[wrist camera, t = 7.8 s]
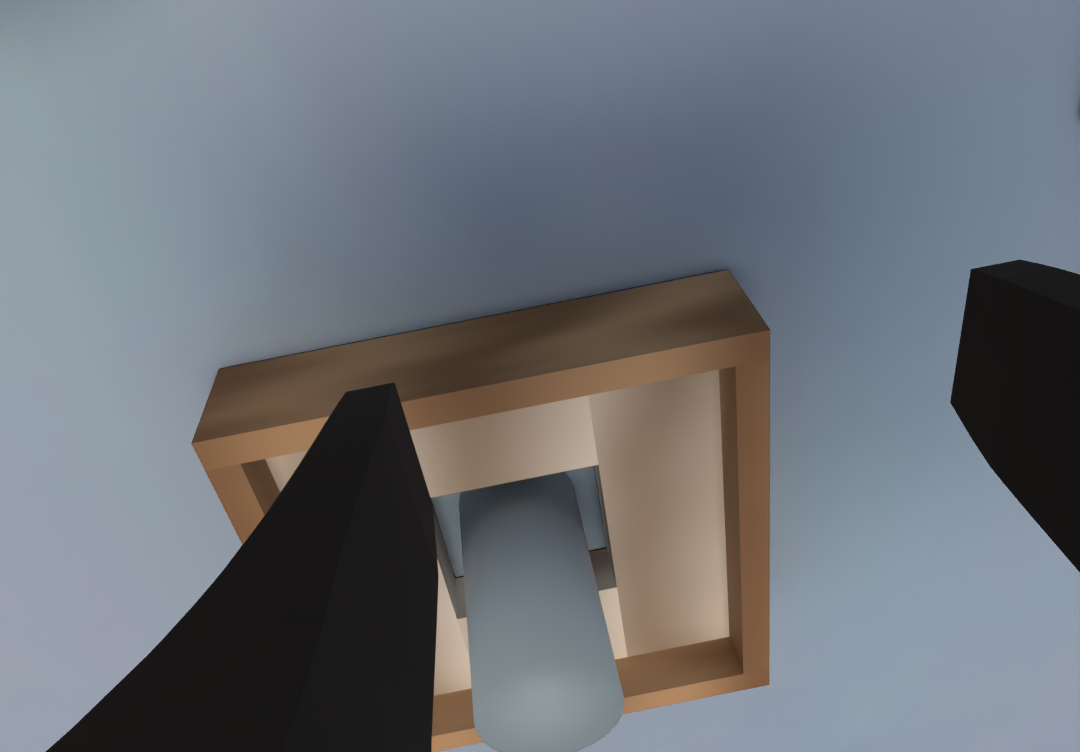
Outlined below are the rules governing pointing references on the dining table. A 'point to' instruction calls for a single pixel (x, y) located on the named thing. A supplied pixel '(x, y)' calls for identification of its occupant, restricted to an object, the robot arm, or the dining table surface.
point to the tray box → (563, 463)
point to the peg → (535, 620)
